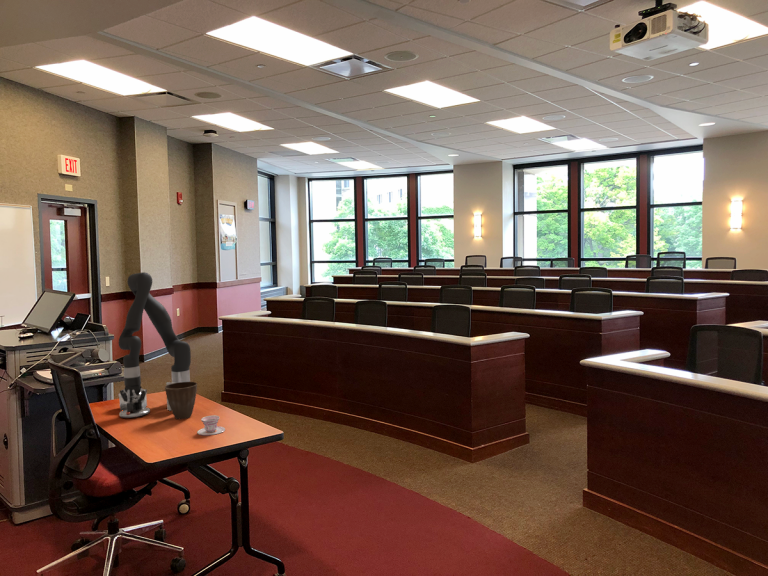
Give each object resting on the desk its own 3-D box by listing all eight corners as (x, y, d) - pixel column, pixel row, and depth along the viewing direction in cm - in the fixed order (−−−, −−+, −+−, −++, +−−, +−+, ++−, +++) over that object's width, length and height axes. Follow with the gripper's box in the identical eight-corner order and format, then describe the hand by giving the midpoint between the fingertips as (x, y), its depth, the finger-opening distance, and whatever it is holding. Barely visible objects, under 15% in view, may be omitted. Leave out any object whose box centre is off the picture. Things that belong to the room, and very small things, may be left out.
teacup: (203, 427, 263) (202, 414, 263) (228, 427, 263) (228, 414, 262) (193, 436, 251) (192, 422, 251) (219, 435, 251) (219, 422, 250)
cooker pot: (152, 404, 308) (151, 389, 307) (138, 411, 294) (137, 395, 294) (129, 403, 310) (128, 389, 309) (113, 411, 296) (112, 395, 296)
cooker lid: (155, 409, 293) (154, 397, 292) (140, 417, 279) (139, 405, 279) (130, 409, 295) (129, 397, 294) (113, 417, 281) (112, 405, 281)
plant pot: (161, 422, 274) (159, 389, 273) (174, 413, 289) (172, 381, 288) (191, 421, 273) (189, 388, 272) (203, 412, 288) (201, 381, 287)
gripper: (149, 373, 288) (151, 407, 290) (123, 373, 290) (125, 407, 292) (141, 377, 281) (143, 411, 282) (114, 377, 283) (117, 411, 284)
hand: (134, 409), depth 287 cm, fingers closed on cooker lid, 3 cm apart
